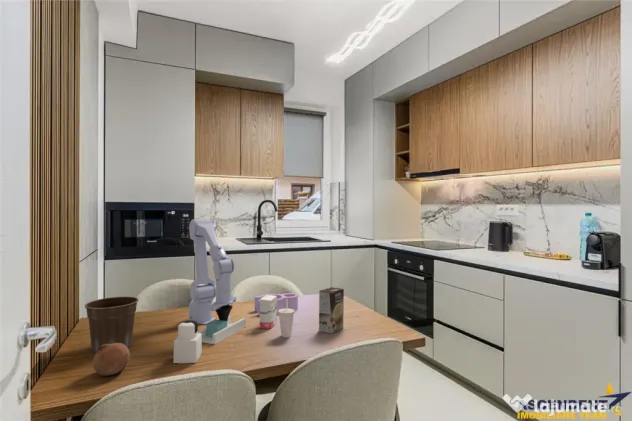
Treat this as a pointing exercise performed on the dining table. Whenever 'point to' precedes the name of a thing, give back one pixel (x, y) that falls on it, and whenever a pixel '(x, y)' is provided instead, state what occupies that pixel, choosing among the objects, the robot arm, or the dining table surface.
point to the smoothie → (286, 320)
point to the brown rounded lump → (111, 359)
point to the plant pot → (111, 321)
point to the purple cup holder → (280, 301)
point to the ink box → (268, 311)
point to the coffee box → (331, 309)
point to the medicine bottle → (187, 343)
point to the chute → (223, 331)
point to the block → (215, 327)
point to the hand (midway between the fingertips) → (223, 324)
